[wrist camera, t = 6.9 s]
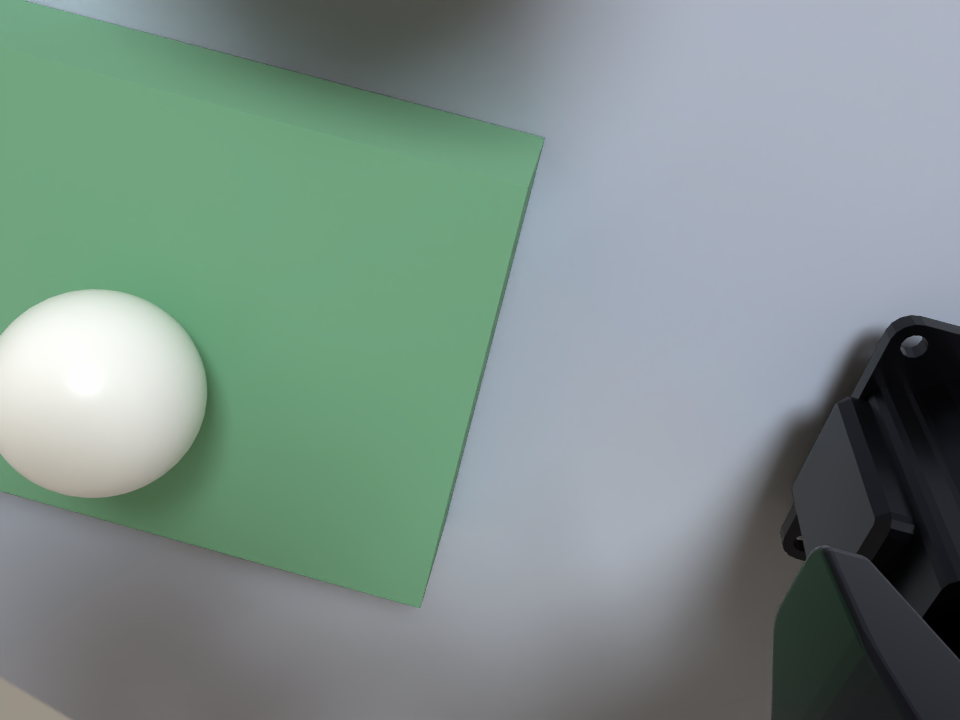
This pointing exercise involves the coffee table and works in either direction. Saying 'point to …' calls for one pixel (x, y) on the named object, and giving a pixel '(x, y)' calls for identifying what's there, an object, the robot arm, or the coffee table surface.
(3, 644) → the coffee table surface
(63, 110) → the putting mat
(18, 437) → the ball
